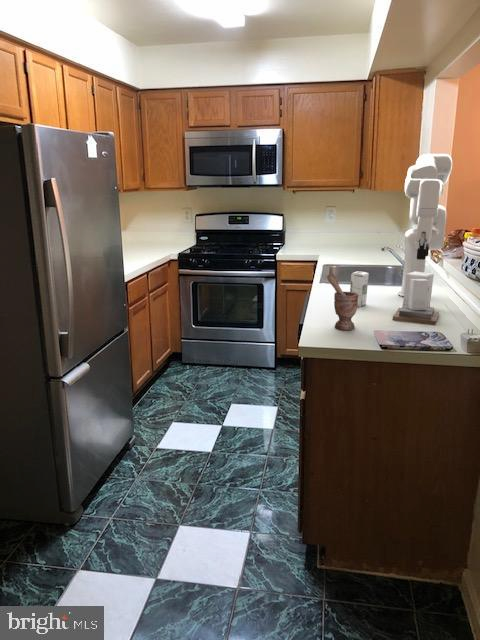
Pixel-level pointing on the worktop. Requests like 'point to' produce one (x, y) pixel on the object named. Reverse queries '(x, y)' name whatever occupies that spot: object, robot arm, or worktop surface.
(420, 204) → the robot arm
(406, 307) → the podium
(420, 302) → the skincare box
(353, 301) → the mortar and pestle
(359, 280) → the syrup box
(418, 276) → the supplement box
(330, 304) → the worktop surface
